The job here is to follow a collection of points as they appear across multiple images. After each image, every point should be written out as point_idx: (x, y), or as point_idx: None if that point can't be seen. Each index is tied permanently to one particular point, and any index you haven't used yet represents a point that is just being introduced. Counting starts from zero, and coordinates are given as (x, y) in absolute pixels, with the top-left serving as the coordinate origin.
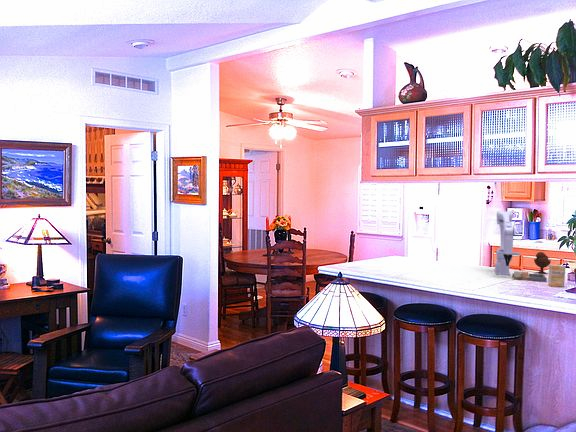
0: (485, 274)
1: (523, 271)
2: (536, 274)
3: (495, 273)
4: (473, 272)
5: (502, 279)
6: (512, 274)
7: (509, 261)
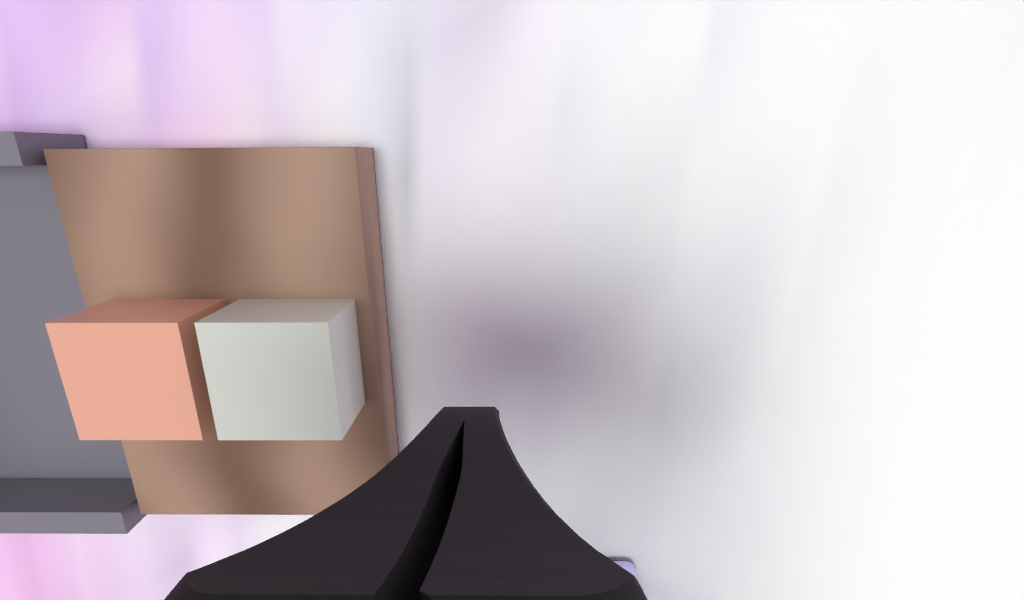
0: (790, 487)
1: (159, 426)
2: (8, 508)
3: (635, 569)
4: (937, 587)
5: (578, 79)
6: None
7: (385, 467)
